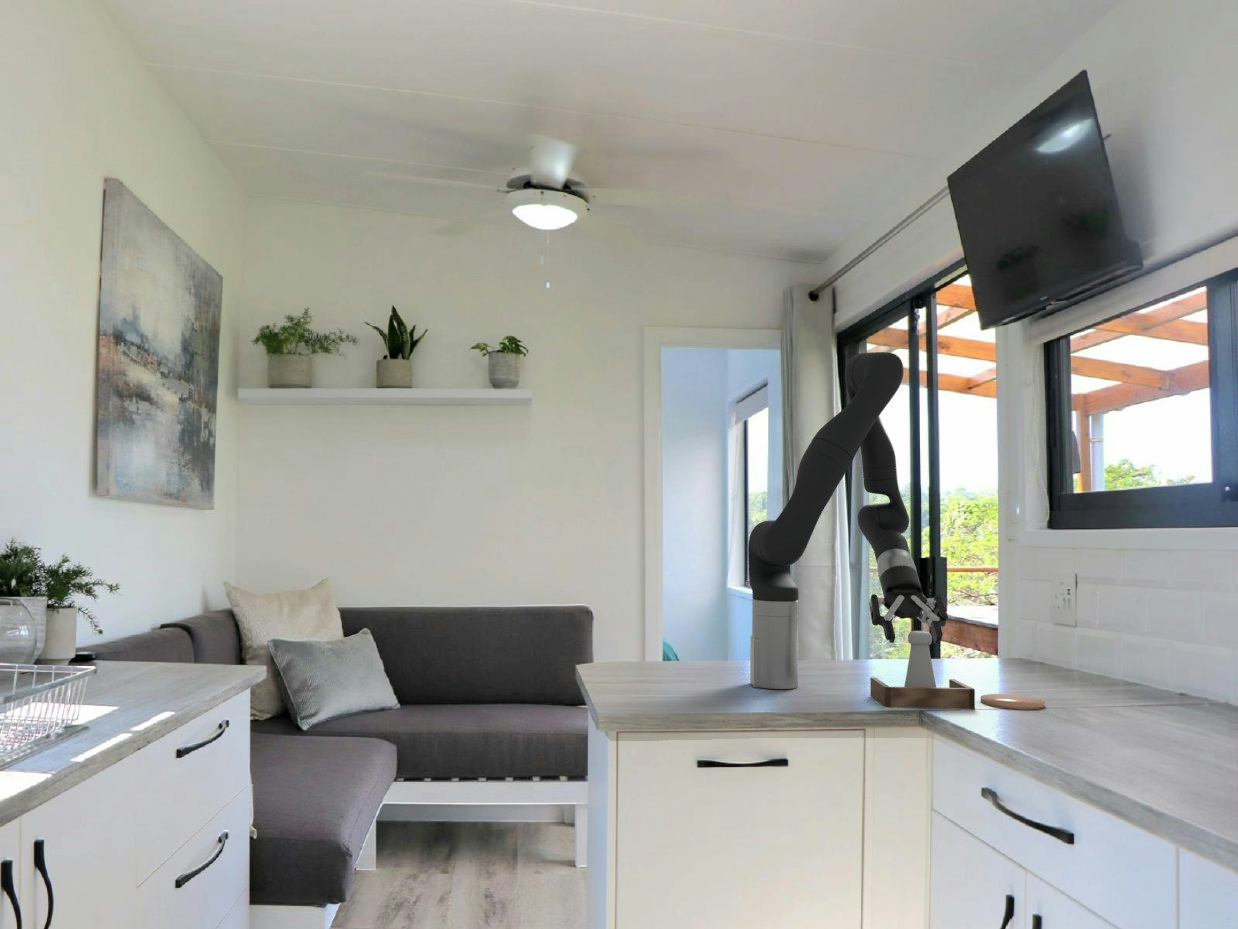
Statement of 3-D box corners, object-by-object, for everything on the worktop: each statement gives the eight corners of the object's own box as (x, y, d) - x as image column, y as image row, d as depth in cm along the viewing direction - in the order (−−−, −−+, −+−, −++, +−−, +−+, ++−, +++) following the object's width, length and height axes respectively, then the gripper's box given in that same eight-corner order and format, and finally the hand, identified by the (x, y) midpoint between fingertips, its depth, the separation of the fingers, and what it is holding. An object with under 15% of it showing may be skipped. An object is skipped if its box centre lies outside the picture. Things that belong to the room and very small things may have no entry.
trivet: (993, 708, 171) (993, 704, 171) (972, 697, 182) (972, 693, 182) (1055, 710, 171) (1055, 705, 171) (1030, 698, 182) (1029, 694, 182)
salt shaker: (923, 698, 181) (923, 629, 182) (943, 704, 175) (942, 632, 176) (897, 699, 179) (897, 630, 180) (916, 705, 174) (916, 633, 174)
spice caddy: (885, 707, 171) (885, 687, 172) (870, 696, 182) (870, 677, 183) (974, 709, 171) (974, 689, 171) (954, 697, 182) (954, 679, 182)
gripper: (866, 563, 191) (881, 627, 179) (937, 564, 191) (957, 628, 179) (860, 588, 196) (874, 652, 184) (929, 589, 196) (948, 653, 184)
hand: (915, 640), depth 181 cm, fingers open, 8 cm apart
